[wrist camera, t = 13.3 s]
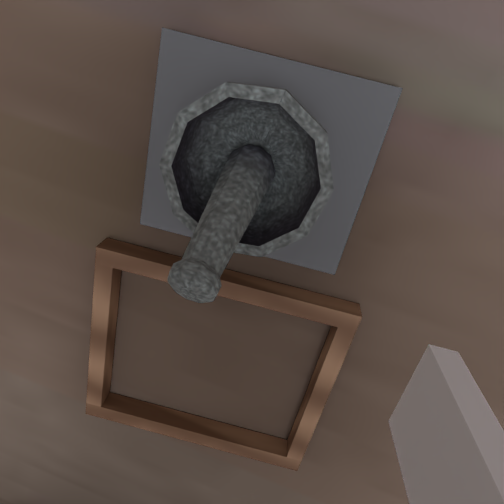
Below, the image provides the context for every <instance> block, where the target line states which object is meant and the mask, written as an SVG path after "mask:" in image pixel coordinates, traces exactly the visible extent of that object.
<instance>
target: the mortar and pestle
mask: <svg viewBox="0 0 504 504" xmlns="http://www.w3.org/2000/svg"><path fill="white" fill-rule="evenodd" d="M159 166H160V170H161V173H162V177H163V180H164V184H165V187H166V191H167V194H168V198H169V201H170V205H171V208H172V212H173V215H174V216H175V217H176V218H177V219H178V220H179V221H181V222H182V223H183V224H184V225H185V226H186V227H187V228H189V229H190V230H191V231H192V232H193V236H192V238H191V240H190V242H189V244H188V246H187V249H186V251H185V253H184V255H183V257H182V259H181V260H179V261H177V262H175V263H173V265H172V267H171V269H170V271H169V275H168V278H167V281H168V283H169V284H170V285H171V287H172V288H173V290H174V291H175V292H176V293H178V294H179V295H181V296H182V297H184V298H185V299H188V300H191V301H194V302H198V303H205V302H212V301H214V300H215V298H216V296H217V294H218V292H219V290H220V288H221V286H222V285H221V280H220V277H221V275H222V273H223V271H224V269H225V267H226V266H227V264H228V262H229V260H230V258H231V256H232V254H233V253H239V254H245V255H251V256H258V257H263V256H265V255H267V254H269V253H272V252H274V251H276V250H278V249H280V248H283V247H285V246H287V245H289V244H291V243H294V242H296V241H298V240H300V239H302V238H305V237H307V236H308V234H309V233H310V231H311V229H312V227H313V226H314V224H315V222H316V221H317V219H318V217H319V215H320V214H321V212H322V210H323V208H324V207H325V205H326V203H327V201H328V200H329V198H330V196H331V195H332V193H333V191H334V186H333V178H332V169H331V161H330V152H329V144H328V135H327V131H326V130H325V129H324V128H323V127H322V126H321V125H320V123H319V122H318V121H317V120H316V119H315V118H314V117H313V116H312V115H311V114H310V113H309V112H308V111H307V110H306V109H305V108H304V107H303V106H302V105H301V104H300V103H299V102H298V101H297V100H296V99H295V98H294V96H293V95H292V94H291V93H290V92H289V91H288V90H287V89H281V88H273V87H266V86H259V85H251V84H244V83H236V82H225V83H224V84H222V85H220V86H219V87H217V88H216V89H214V90H212V91H211V92H209V93H208V94H206V95H204V96H203V97H201V98H200V99H198V100H196V101H195V102H193V103H192V104H190V105H188V106H187V107H185V108H184V109H182V110H180V111H179V112H177V115H176V117H175V120H174V123H173V126H172V129H171V132H170V134H169V137H168V140H167V143H166V146H165V149H164V151H163V154H162V157H161V160H160V163H159Z"/></svg>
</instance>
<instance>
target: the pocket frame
mask: <svg viewBox="0 0 504 504" xmlns="http://www.w3.org/2000/svg"><path fill="white" fill-rule="evenodd" d="M181 259H182V257H179V256H175V255H171V254H167V253H164V252H160V251H156V250H152V249H148V248H145V247H141V246H137V245H133V244H129V243H126V242H122V241H118V240H114V239H110V238H107V239H105V240H104V241H103V242H102V243H100V244H99V245H98V246H97V247H96V257H95V273H94V289H93V305H92V321H91V337H90V352H89V368H88V384H87V400H86V414H89V415H92V416H96V417H100V418H104V419H107V420H111V421H115V422H118V423H122V424H126V425H129V426H133V427H137V428H140V429H144V430H148V431H151V432H155V433H159V434H163V435H166V436H170V437H174V438H177V439H181V440H185V441H188V442H192V443H196V444H199V445H203V446H207V447H211V448H214V449H218V450H222V451H225V452H229V453H233V454H236V455H240V456H244V457H247V458H251V459H255V460H259V461H262V462H266V463H270V464H273V465H277V466H281V467H284V468H288V469H292V470H295V471H297V470H298V468H299V466H300V463H301V461H302V459H303V456H304V454H305V451H306V449H307V447H308V444H309V442H310V440H311V437H312V435H313V432H314V430H315V428H316V425H317V423H318V421H319V418H320V416H321V414H322V411H323V409H324V406H325V404H326V402H327V399H328V397H329V395H330V392H331V390H332V388H333V385H334V383H335V380H336V378H337V376H338V373H339V371H340V369H341V366H342V364H343V361H344V359H345V357H346V354H347V352H348V350H349V347H350V345H351V343H352V340H353V338H354V335H355V333H356V331H357V328H358V326H359V324H360V321H361V319H362V314H361V310H360V306H359V304H357V303H354V302H350V301H346V300H342V299H338V298H335V297H331V296H327V295H323V294H319V293H316V292H312V291H308V290H304V289H300V288H297V287H293V286H289V285H285V284H281V283H278V282H274V281H270V280H266V279H262V278H259V277H255V276H251V275H247V274H243V273H240V272H236V271H232V270H228V269H224V271H223V273H222V275H221V277H220V280H221V285H222V286H221V288H220V290H219V292H218V294H217V296H221V297H225V298H229V299H233V300H236V301H240V302H244V303H248V304H252V305H255V306H259V307H263V308H267V309H270V310H274V311H278V312H282V313H286V314H289V315H293V316H297V317H301V318H304V319H308V320H312V321H316V322H320V323H323V324H327V325H331V328H330V331H329V334H328V336H327V339H326V341H325V344H324V347H323V349H322V352H321V354H320V357H319V360H318V362H317V365H316V367H315V370H314V373H313V375H312V378H311V380H310V383H309V385H308V388H307V391H306V393H305V396H304V398H303V401H302V404H301V406H300V409H299V411H298V414H297V417H296V419H295V422H294V424H293V427H292V430H291V432H290V435H289V437H288V440H285V439H281V438H278V437H274V436H270V435H267V434H263V433H259V432H255V431H252V430H248V429H244V428H241V427H237V426H233V425H230V424H226V423H222V422H218V421H215V420H211V419H207V418H204V417H200V416H196V415H192V414H189V413H185V412H181V411H178V410H174V409H170V408H167V407H163V406H159V405H155V404H152V403H148V402H144V401H141V400H137V399H133V398H129V397H126V396H122V395H118V394H115V393H111V392H110V386H111V376H112V366H113V355H114V345H115V335H116V324H117V314H118V304H119V293H120V283H121V272H122V270H123V271H127V272H130V273H134V274H138V275H142V276H146V277H149V278H153V279H157V280H161V281H164V282H168V281H167V278H168V275H169V271H170V269H171V267H172V265H173V263H175V262H177V261H179V260H181Z"/></svg>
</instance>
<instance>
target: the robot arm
mask: <svg viewBox="0 0 504 504" xmlns="http://www.w3.org/2000/svg"><path fill="white" fill-rule="evenodd" d="M389 425H390V429H391V433H392V437H393V441H394V445H395V449H396V453H397V457H398V461H399V465H400V469H401V473H402V477H403V481H404V485H405V489H406V493H407V497H408V500H409V504H504V431H503V429H502V427H501V425H500V424H499V422H498V420H497V418H496V417H495V415H494V413H493V411H492V410H491V408H490V406H489V404H488V403H487V401H486V399H485V398H484V396H483V394H482V392H481V391H480V389H479V387H478V385H477V384H476V382H475V380H474V378H473V377H472V375H471V373H470V371H469V370H468V368H467V366H466V364H465V363H464V361H463V359H462V358H461V356H460V354H459V352H457V351H453V350H449V349H445V348H441V347H438V346H434V345H430V344H428V346H427V348H426V350H425V352H424V354H423V356H422V358H421V360H420V362H419V364H418V366H417V367H416V369H415V371H414V373H413V375H412V377H411V379H410V381H409V383H408V385H407V387H406V389H405V390H404V392H403V394H402V396H401V398H400V400H399V402H398V404H397V406H396V408H395V410H394V412H393V413H392V415H391V417H390V419H389Z"/></svg>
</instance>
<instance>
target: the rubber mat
mask: <svg viewBox="0 0 504 504" xmlns="http://www.w3.org/2000/svg"><path fill="white" fill-rule="evenodd" d="M225 82H236V83H244V84H251V85H259V86H266V87H273V88H281V89H287V90H288V91H289V92H290V93H291V94H292V95H293V96H294V98H295V99H296V100H297V101H298V102H299V103H300V104H301V105H302V106H303V107H304V108H305V109H306V110H307V111H308V112H309V113H310V114H311V115H312V116H313V117H314V118H315V119H316V120H317V121H318V122H319V123H320V125H321V126H322V127H323V128H324V129H325V130H326V131H327V135H328V144H329V152H330V161H331V169H332V178H333V186H334V191H333V193H332V195H331V196H330V198H329V200H328V201H327V203H326V205H325V207H324V208H323V210H322V212H321V214H320V215H319V217H318V219H317V221H316V222H315V224H314V226H313V227H312V229H311V231H310V233H309V234H308V236H307V237H305V238H302V239H300V240H298V241H296V242H294V243H291V244H289V245H287V246H285V247H283V248H280V249H278V250H276V251H274V252H272V253H269V254H267V255H265V256H264V257H268V258H272V259H276V260H280V261H283V262H287V263H291V264H295V265H299V266H303V267H306V268H310V269H314V270H318V271H322V272H325V273H329V274H333V275H335V272H336V269H337V267H338V264H339V261H340V258H341V256H342V253H343V250H344V247H345V245H346V242H347V239H348V237H349V234H350V231H351V228H352V226H353V223H354V220H355V217H356V215H357V212H358V209H359V206H360V204H361V201H362V198H363V195H364V193H365V190H366V187H367V184H368V182H369V179H370V176H371V173H372V171H373V168H374V165H375V163H376V160H377V157H378V154H379V152H380V149H381V146H382V143H383V141H384V138H385V135H386V132H387V130H388V127H389V124H390V121H391V119H392V116H393V113H394V110H395V108H396V105H397V102H398V100H399V97H400V94H401V91H402V89H403V88H399V87H395V86H391V85H387V84H383V83H379V82H375V81H371V80H367V79H364V78H360V77H356V76H352V75H348V74H344V73H340V72H336V71H332V70H328V69H324V68H320V67H316V66H312V65H308V64H304V63H300V62H296V61H292V60H288V59H285V58H281V57H277V56H273V55H269V54H265V53H261V52H257V51H253V50H249V49H245V48H241V47H237V46H233V45H229V44H225V43H221V42H217V41H213V40H210V39H206V38H202V37H198V36H194V35H190V34H186V33H182V32H178V31H174V30H170V29H166V28H162V33H161V42H160V51H159V60H158V69H157V77H156V86H155V95H154V104H153V113H152V122H151V131H150V139H149V148H148V157H147V166H146V175H145V184H144V193H143V202H142V210H141V219H140V224H142V225H146V226H150V227H154V228H158V229H161V230H165V231H169V232H173V233H177V234H180V235H184V236H188V237H192V236H193V232H192V231H191V230H190V229H189V228H187V227H186V226H185V225H184V224H183V223H182V222H181V221H179V220H178V219H177V218H176V217H175V216H174V215H173V212H172V208H171V205H170V201H169V198H168V194H167V191H166V187H165V184H164V180H163V177H162V173H161V170H160V166H159V163H160V160H161V157H162V154H163V151H164V149H165V146H166V143H167V140H168V137H169V134H170V132H171V129H172V126H173V123H174V120H175V117H176V115H177V112H179V111H180V110H182V109H184V108H185V107H187V106H188V105H190V104H192V103H193V102H195V101H196V100H198V99H200V98H201V97H203V96H204V95H206V94H208V93H209V92H211V91H212V90H214V89H216V88H217V87H219V86H220V85H222V84H224V83H225Z"/></svg>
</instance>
